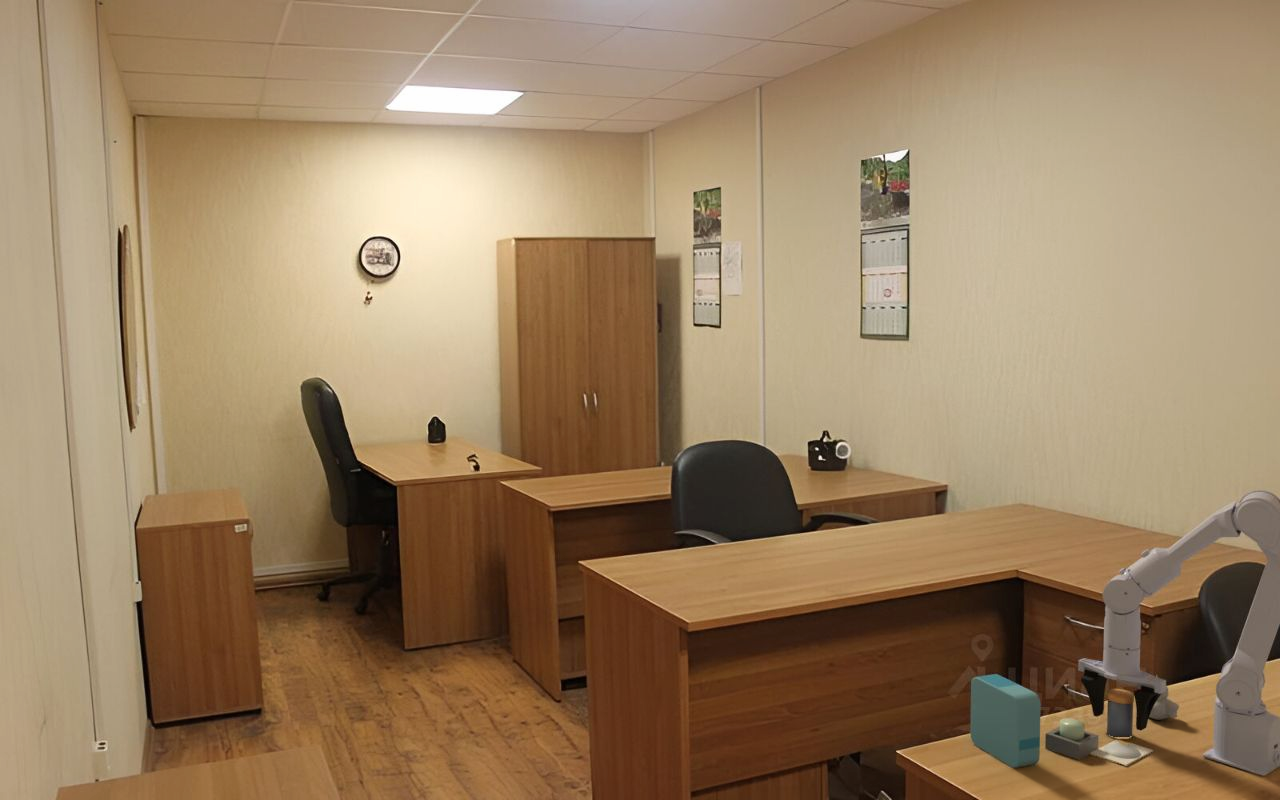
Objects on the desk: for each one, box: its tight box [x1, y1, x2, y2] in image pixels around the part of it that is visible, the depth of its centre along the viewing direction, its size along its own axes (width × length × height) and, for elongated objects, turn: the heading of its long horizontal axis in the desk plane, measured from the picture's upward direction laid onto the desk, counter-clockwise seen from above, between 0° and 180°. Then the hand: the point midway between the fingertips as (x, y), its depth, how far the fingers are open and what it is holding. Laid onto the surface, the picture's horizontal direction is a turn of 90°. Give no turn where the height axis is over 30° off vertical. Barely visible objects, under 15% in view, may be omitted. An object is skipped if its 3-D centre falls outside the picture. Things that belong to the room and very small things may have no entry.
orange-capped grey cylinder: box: [1106, 688, 1135, 737], centre depth 177 cm, size 4×4×8 cm
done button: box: [1059, 717, 1086, 742], centre depth 172 cm, size 4×4×3 cm
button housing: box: [1045, 726, 1099, 761], centre depth 172 cm, size 6×6×3 cm
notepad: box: [1089, 739, 1154, 767], centre depth 170 cm, size 6×9×1 cm, turn 127°
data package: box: [970, 673, 1041, 769], centre depth 170 cm, size 12×4×12 cm, turn 20°
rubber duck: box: [1149, 675, 1180, 721], centre depth 184 cm, size 5×7×8 cm
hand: (1119, 721), depth 177 cm, fingers open, 7 cm apart
